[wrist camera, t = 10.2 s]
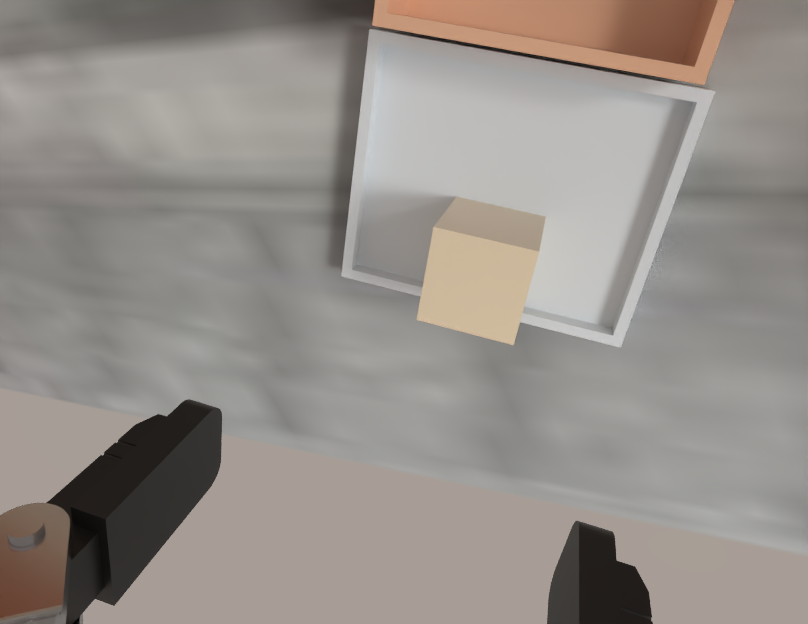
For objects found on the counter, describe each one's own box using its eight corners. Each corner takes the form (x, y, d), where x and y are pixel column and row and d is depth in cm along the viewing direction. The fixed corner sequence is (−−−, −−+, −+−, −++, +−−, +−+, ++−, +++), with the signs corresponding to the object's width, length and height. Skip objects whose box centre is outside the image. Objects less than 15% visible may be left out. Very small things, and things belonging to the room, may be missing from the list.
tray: (709, 88, 24) (715, 91, 23) (619, 336, 29) (620, 347, 28) (378, 29, 26) (369, 28, 25) (349, 268, 31) (341, 276, 30)
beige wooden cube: (545, 216, 27) (539, 251, 23) (523, 298, 29) (513, 345, 25) (456, 196, 28) (433, 226, 23) (440, 277, 30) (416, 319, 25)
